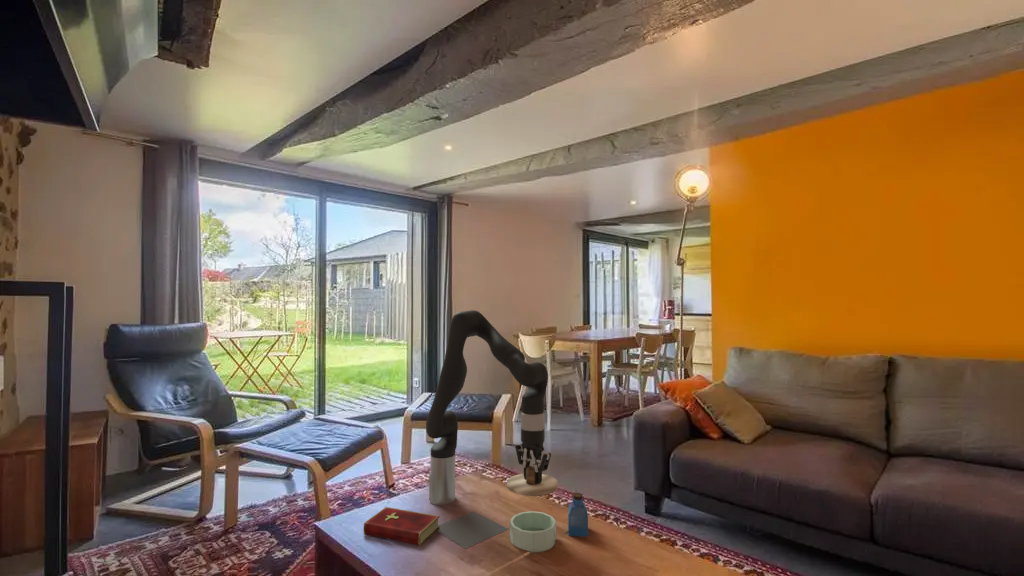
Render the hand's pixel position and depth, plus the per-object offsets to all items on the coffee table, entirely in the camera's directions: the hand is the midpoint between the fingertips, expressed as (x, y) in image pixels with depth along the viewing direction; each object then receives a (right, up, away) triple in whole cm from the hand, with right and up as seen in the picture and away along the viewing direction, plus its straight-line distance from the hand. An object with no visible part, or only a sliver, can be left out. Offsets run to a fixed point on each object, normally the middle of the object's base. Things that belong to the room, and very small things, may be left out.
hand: (532, 481), depth 150 cm
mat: (-20, -19, +6) cm, 28 cm away
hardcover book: (-42, -19, +5) cm, 46 cm away
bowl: (0, -19, 0) cm, 19 cm away
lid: (0, -1, 0) cm, 1 cm away
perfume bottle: (+15, -19, +6) cm, 25 cm away
